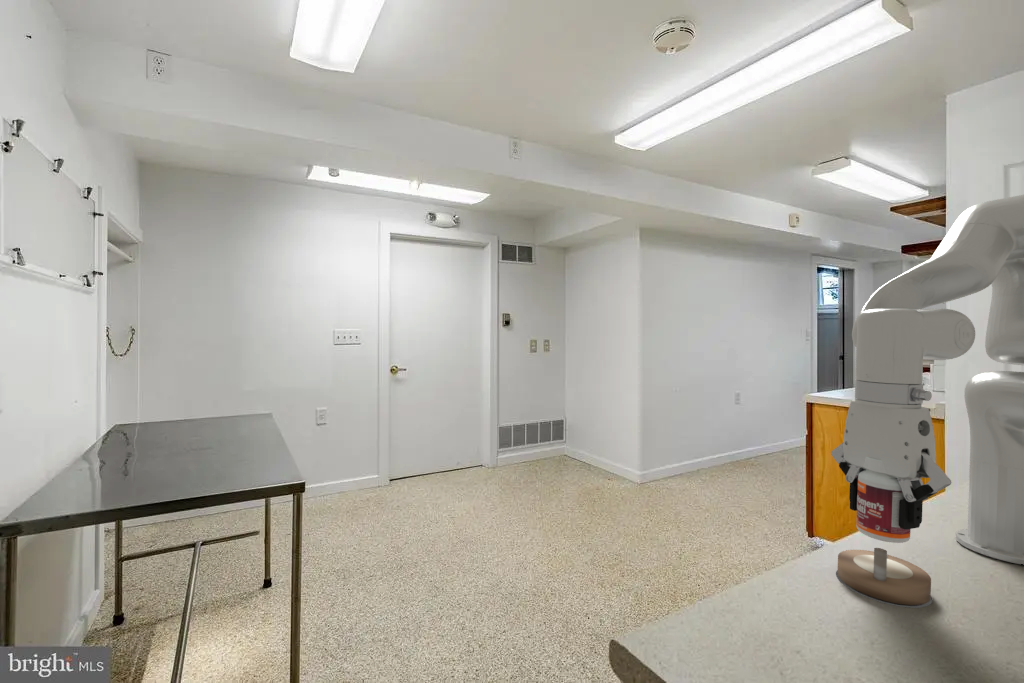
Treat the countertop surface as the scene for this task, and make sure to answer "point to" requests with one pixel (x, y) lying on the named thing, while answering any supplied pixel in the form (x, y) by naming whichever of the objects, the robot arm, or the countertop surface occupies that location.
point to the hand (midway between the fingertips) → (883, 517)
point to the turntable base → (883, 600)
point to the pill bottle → (879, 504)
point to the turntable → (884, 576)
